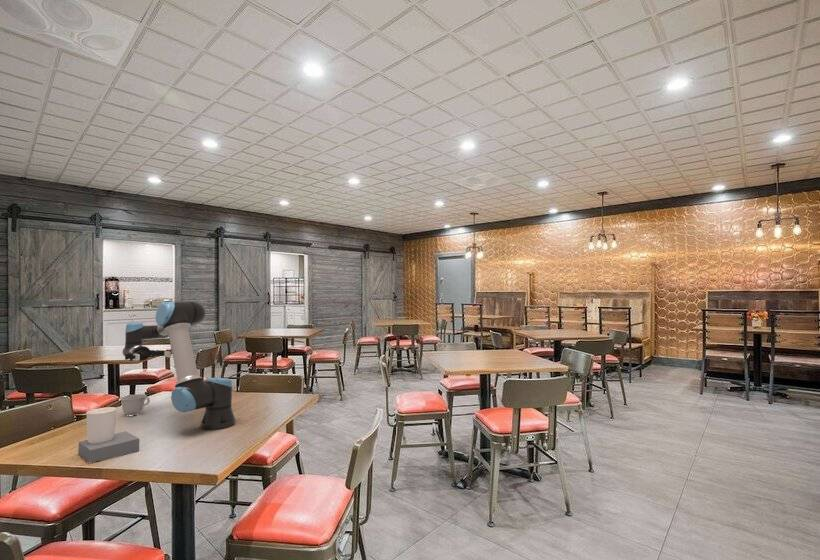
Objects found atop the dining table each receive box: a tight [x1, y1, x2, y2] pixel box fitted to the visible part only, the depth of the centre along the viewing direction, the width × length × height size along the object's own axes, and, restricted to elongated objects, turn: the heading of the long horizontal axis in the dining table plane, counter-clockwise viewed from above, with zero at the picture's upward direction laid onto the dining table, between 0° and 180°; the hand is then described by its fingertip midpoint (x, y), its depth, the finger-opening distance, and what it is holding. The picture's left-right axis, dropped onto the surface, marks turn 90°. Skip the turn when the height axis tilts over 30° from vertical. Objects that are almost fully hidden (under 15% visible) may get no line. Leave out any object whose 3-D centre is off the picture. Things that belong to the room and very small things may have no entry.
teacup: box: [119, 393, 151, 417], centre depth 215 cm, size 12×15×10 cm
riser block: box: [77, 431, 140, 464], centre depth 159 cm, size 16×16×5 cm
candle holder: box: [86, 406, 118, 444], centre depth 159 cm, size 10×10×12 cm
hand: (155, 356), depth 192 cm, fingers open, 13 cm apart
